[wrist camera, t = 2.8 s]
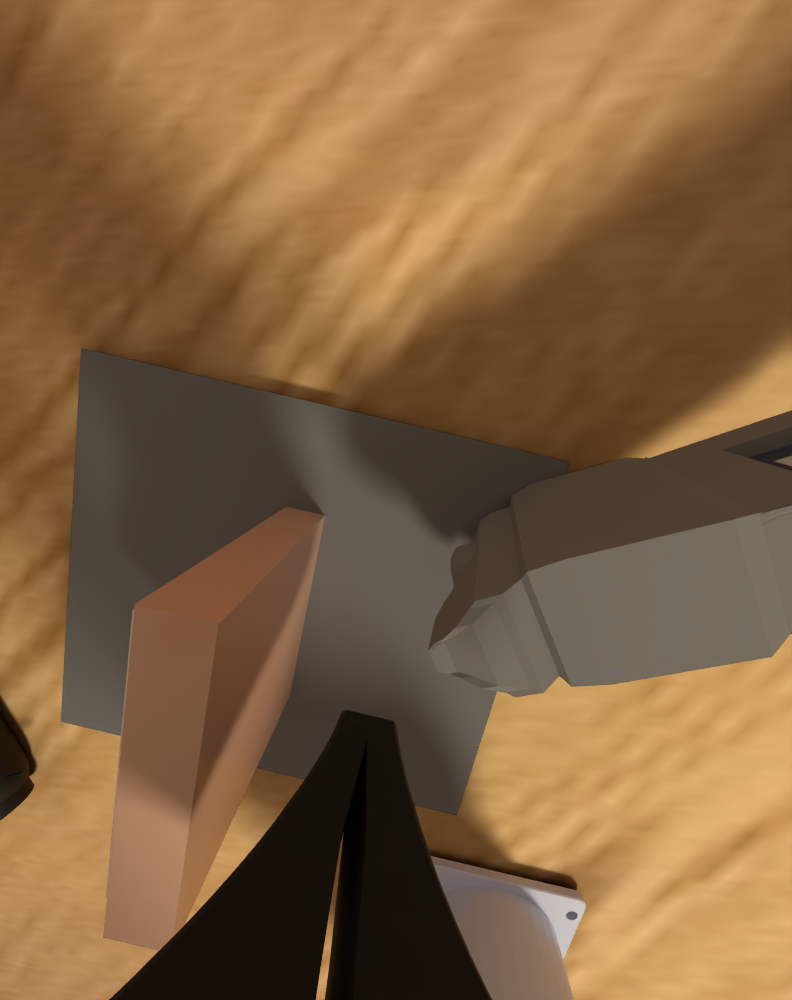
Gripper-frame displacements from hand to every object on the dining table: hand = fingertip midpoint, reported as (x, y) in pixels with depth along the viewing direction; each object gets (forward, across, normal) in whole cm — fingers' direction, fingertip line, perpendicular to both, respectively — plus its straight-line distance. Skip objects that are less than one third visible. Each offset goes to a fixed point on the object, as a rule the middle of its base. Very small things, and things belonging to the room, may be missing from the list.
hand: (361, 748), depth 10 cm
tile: (+6, +4, 0) cm, 7 cm away
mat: (+6, +4, 0) cm, 7 cm away
